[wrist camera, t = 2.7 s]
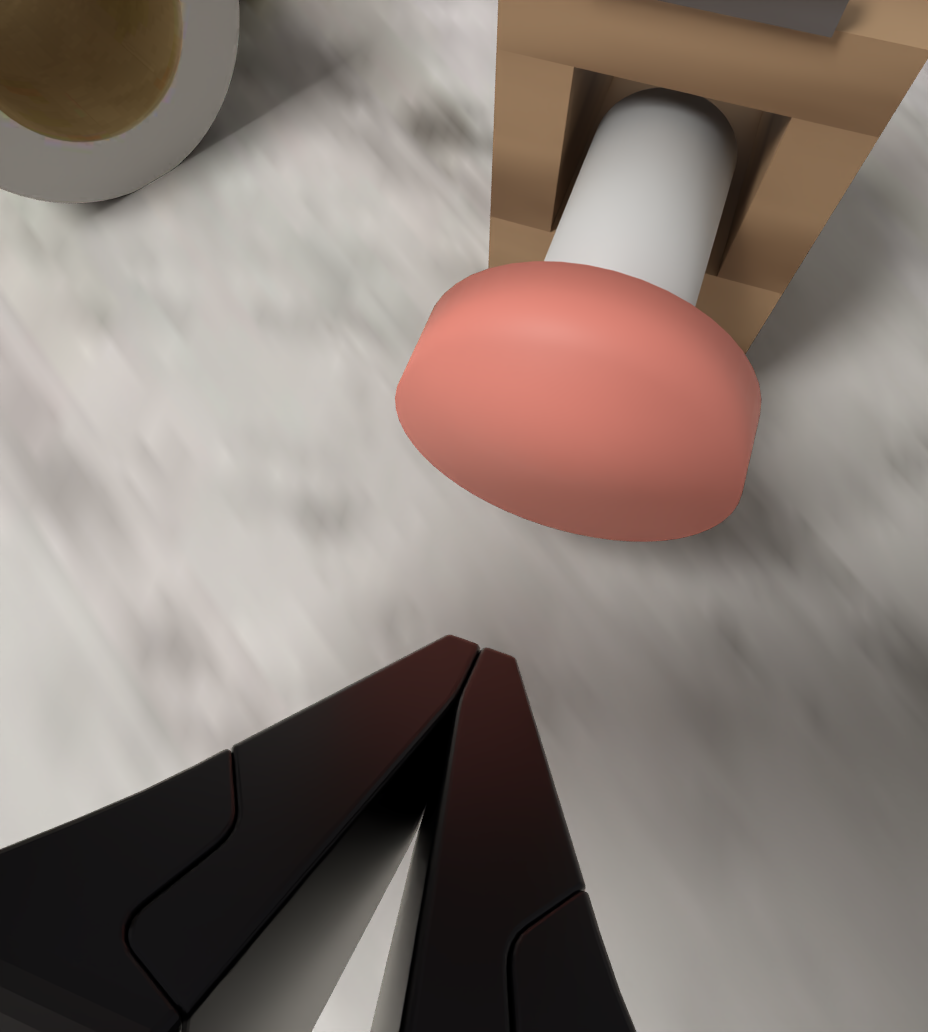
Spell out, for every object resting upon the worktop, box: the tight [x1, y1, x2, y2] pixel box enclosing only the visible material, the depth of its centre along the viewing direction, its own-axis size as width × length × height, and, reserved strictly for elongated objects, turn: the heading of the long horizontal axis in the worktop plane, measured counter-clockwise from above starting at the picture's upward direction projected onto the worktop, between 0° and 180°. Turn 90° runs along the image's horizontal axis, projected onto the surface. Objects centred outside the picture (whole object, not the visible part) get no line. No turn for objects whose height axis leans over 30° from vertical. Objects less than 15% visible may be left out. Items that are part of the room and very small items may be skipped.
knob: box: [395, 87, 761, 542], centre depth 13 cm, size 8×6×6 cm
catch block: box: [488, 0, 928, 354], centre depth 16 cm, size 6×7×11 cm
